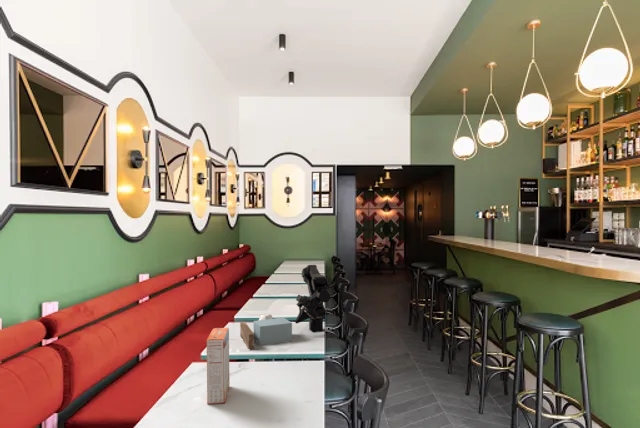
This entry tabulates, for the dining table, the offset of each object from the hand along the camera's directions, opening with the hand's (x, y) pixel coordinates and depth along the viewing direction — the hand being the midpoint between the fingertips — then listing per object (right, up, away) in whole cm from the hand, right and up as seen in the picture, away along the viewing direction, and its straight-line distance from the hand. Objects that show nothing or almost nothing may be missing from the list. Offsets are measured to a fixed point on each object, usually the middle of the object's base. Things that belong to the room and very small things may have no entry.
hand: (295, 322), depth 203 cm
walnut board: (-23, -7, -9) cm, 26 cm away
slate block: (-11, -7, -4) cm, 14 cm away
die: (-17, -8, +14) cm, 23 cm away
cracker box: (-22, -6, -68) cm, 71 cm away
